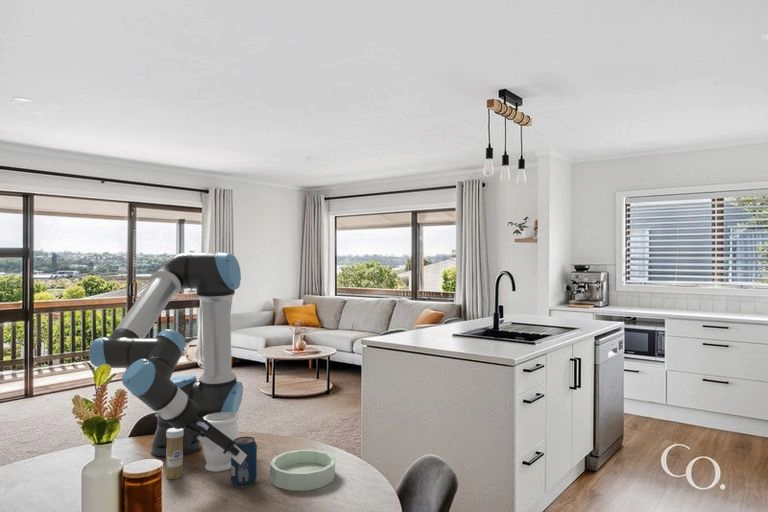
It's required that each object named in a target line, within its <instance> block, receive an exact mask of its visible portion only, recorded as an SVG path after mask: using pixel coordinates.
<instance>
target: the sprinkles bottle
mask: <svg viewBox="0 0 768 512" xmlns="http://www.w3.org/2000/svg"><path fill="white" fill-rule="evenodd" d="M183 435H184V429H183V428H181V429H175V428H170V429H168V430H167V432H166V437H167V448H166V457H165V465H166V466H165V467H166V468H165V469H166V470H165V471H166V472H165V478H166V479H168V480H176V479H179V478H181V477H182V476H183V463H184V462H183V460H184V459H183V458H184V455H183Z"/></svg>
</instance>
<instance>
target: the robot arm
mask: <svg viewBox="0 0 768 512" xmlns="http://www.w3.org/2000/svg"><path fill="white" fill-rule="evenodd" d="M241 274H242V273H241V267H240V263H239V261H238V259H237V258H236V256H235V255H234V254H232V253H229V252H221V251H218V252H217V251H216V252H215V251H212V252H211V251H209V252H204V251H203V252H202V251H201V252H193V251H192V252H191V251H190V252H187V251H186V252H181V253H179V254H175V255H174V256H172V257H170V258H169V259H167V260H165V261H164V262H163V263H161V264H160V265H159V266H158V267H157V268H156V269H155V270H154V271H153V272H152V273H151V275H150V277H149V283H148V285H147V286H146V288H145V289H144V290H143V292H142V293H141V294H140V295H139V297H138V298H137V300H135V302H134V304H133V305H132V306H131V308H129V310H128V312H127V313H126V314H125V316H123V319H122V320H121V321H120V322H119V323H118V325H117V326H116V328H114V330H113V331H112V332H111V334H110V335H109V336H108V337H107V336H103V337H98V338H96V339H94V340H93V341H92V343H91V344H90V346H89V350H88V359H89V361H90V363H91V364H92V366H94V367H96V368H100V367H99V366H100V365H103V364H109V365H110V366H111V368H110V369H126V370H125V371H124V373H123V375H122V377H121V383H122V385H123V386H124V387H125V389H127V390H128V391H129V392H130V393H131V394H132V395H133V396H134V397H136V398H137V399H139V400H140V401H141V402H142V403H144V405H146V406H147V407H149V408H150V409H151V410H152V411H154V412H155V414H154V416H155V417H156V418H157V422H156V423H157V425H156V430H155V433H154V434H153V435H154V436H153V439H152V441H151V443H150V444H151V445H150V453H151V454H152V455H153V456H157V457H162V458H166V448H167V437H166V432H167V430H168V429H170V428H175V429H181V428H183V429H184V435H183V456H185V455H190V454H192V453H195V452H196V451H198V450H199V449H200V448H201V445H202V443H203V444H204V445H205V446H207V447H208V448H209V449H210V450H211V451H214V450H215V449H216V447H217V446H220V447H221V448H223V449H224V452H223V453H224V454H225V453H227V454H228V455H229V456H231V457H232V458H233V459H234V460H235V461H236V462H238V463H239V464H240V465H241V464H242V462H243V461H244V459H245V458H246V456H247V455H246V454H245V453H244V452H243V451H242V450H241V449H240V448H238V447H237V446H236V445H235V441H233V440H231V439H230V438H229V437H227V436H226V435H225V434H223V433H222V432H221V431H219V430H218V429H217V428H215V427H214V426H212V425H211V424H210V423H209V422H208V421H207V420H204V418H203V417H204V416H206V415H209V414H213V413H220V412H231V413H236V414H237V413H238V411H239V409H240V408H241V403H242V401H243V395H244V394H243V393H244V386H243V382H241V381H239V380H238V379H237V374H236V373H235V372H234V371H233V370H232V337H231V336H232V335H231V333H232V332H231V329H232V328H231V299H232V298H233V296H234V295H235V293H236V291H235V290H238V289H239V288H240V286H241V280H242V276H241ZM187 289H190V290H192V289H193V290H194V289H196V297H198V298H199V299H200V300H201V308H202V309H201V313H202V318H201V319H202V344H203V345H202V347H203V349H202V350H203V352H202V353H203V373H202V374H201V376H199V378H198V379H197V376H196V375H192V374H189V375H188V374H187V375H180V376H174V377H172V376H173V373H174V370H175V369H176V366H177V364H178V363H179V360H180V359H181V357H182V355H183V351H184V349H185V346H186V339H185V337H184V336H183V335H182V334H181V333H180V332H179V331H176V330H174V329H164V330H162V331H159V333H158V334H157V335H156V336H155V338H146V337H147V335H148V333H149V332H150V331H151V330H152V328H153V326H154V324H155V323H156V322H157V320H158V319H159V317H160V316H161V314H162V312H164V309H165V308H166V307H167V305H168V304H169V302H170V300H171V299H172V298H173V297H174V296H177V295H179V293H180V292H181V291H182V290H187ZM237 380H238V381H237Z"/></svg>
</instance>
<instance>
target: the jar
mask: <svg viewBox="0 0 768 512" xmlns="http://www.w3.org/2000/svg"><path fill="white" fill-rule="evenodd" d="M203 418H204V420H207V421H208V422H209V423H210V424H211V425H212V426H214V427H215V428H217V429H218V430H219V431H221V432H222V433H223V434H225V435H226V436H227V437H229V438H230V439H231V440H233V441H234V439H236V438H239V426H238V422H237V421H238V420H239V414H237V413H231V412H220V413H213V414H209V415H206V416H204V417H203ZM201 445H202V449H203V456H204V459H205V461H206V463H205V467H204V468H205V470H206V471H209V472H214V473H217V472H225V471H228V470H231V456H229V455H228V454H227V453H225V454H224V453H223V452H224V449H223V448H221V447H220V446H217V447H216V449H215V450H214V451H211V450H210V449H209V448H208V447H207V446H205V445H204V444H203V443H202V442H201Z"/></svg>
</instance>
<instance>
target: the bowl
mask: <svg viewBox="0 0 768 512" xmlns="http://www.w3.org/2000/svg"><path fill="white" fill-rule="evenodd" d="M335 475H336V457H334V456H333V455H332V454H331V453H329V452H326V451H322V450H318V449H317V450H316V449H298V450H297V449H296V450H291V451H286V452H283V453H281V454H279V455H277V456H275V457H273V458H272V460H271V462H270V463H269V481H270V482H271V483H272V484H273V486H274V487H275V488H279V489H283V490H286V491H289V492H290V491H301V492H304V491H306V492H307V491H313V490H315V489H321V488H324V487H326V486H328V485H329V484H331V483H332V482H333V481H335Z"/></svg>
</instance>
